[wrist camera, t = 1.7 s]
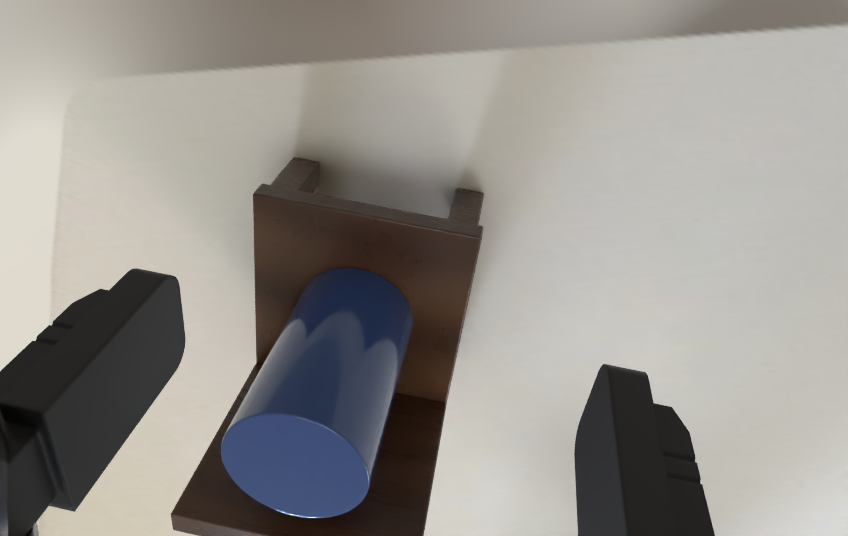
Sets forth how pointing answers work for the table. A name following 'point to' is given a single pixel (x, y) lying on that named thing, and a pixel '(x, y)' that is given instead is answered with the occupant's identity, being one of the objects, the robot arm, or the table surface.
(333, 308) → the canister
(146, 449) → the table surface
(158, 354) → the robot arm
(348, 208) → the miniature wooden chair
